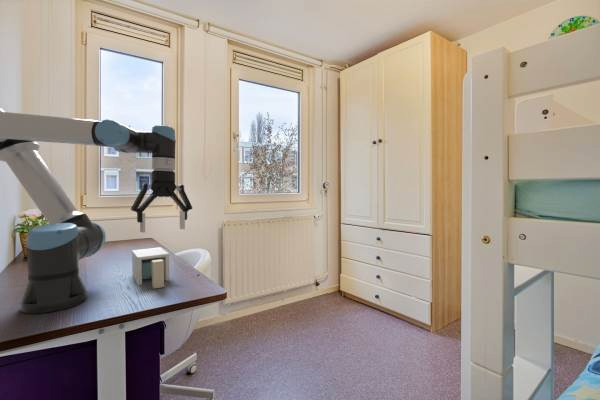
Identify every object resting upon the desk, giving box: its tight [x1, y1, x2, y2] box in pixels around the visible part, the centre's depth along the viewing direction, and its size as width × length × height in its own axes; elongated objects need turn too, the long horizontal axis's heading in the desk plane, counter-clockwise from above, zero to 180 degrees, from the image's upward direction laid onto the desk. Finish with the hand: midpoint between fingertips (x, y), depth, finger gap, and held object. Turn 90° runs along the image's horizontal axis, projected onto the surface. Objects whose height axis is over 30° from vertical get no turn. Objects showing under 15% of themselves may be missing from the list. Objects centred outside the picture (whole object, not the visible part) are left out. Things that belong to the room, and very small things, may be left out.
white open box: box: [131, 246, 171, 286], centre depth 113 cm, size 10×15×10 cm
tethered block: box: [142, 258, 165, 289], centre depth 108 cm, size 6×20×9 cm, turn 36°
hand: (163, 230), depth 105 cm, fingers open, 13 cm apart
